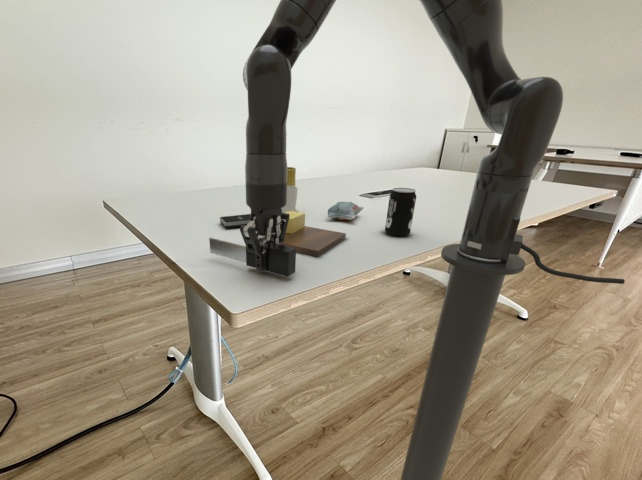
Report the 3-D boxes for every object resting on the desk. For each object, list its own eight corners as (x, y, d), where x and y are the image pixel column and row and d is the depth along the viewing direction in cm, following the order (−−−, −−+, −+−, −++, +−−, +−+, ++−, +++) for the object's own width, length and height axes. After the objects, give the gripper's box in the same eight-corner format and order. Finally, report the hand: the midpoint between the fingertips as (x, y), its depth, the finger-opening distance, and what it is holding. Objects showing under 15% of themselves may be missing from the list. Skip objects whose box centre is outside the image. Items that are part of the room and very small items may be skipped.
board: (345, 238, 90) (346, 233, 89) (317, 257, 78) (318, 250, 77) (287, 227, 99) (287, 222, 98) (254, 242, 87) (254, 237, 86)
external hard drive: (219, 223, 103) (219, 216, 102) (254, 219, 107) (254, 213, 106) (226, 229, 97) (225, 222, 96) (262, 225, 101) (262, 219, 100)
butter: (304, 227, 94) (305, 213, 92) (291, 233, 89) (291, 218, 87) (289, 224, 97) (289, 210, 95) (275, 230, 91) (275, 216, 90)
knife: (295, 272, 67) (296, 248, 65) (287, 277, 65) (288, 252, 63) (215, 250, 78) (213, 229, 76) (206, 254, 75) (204, 232, 73)
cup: (266, 218, 108) (266, 186, 104) (290, 216, 111) (291, 184, 107) (275, 225, 101) (275, 190, 97) (300, 222, 104) (302, 189, 100)
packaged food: (362, 215, 112) (363, 200, 110) (353, 224, 102) (355, 208, 100) (336, 213, 115) (337, 198, 113) (325, 221, 105) (326, 205, 103)
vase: (276, 209, 119) (277, 166, 113) (294, 209, 119) (295, 166, 113) (278, 214, 113) (279, 169, 107) (296, 213, 114) (298, 169, 108)
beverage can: (405, 239, 90) (412, 192, 85) (380, 234, 94) (387, 189, 89) (412, 233, 95) (420, 189, 90) (389, 229, 98) (395, 186, 93)
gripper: (260, 187, 55) (261, 284, 62) (303, 176, 65) (300, 260, 72) (224, 182, 58) (229, 275, 66) (270, 173, 69) (270, 253, 76)
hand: (266, 267), depth 69 cm, fingers closed on knife, 3 cm apart
